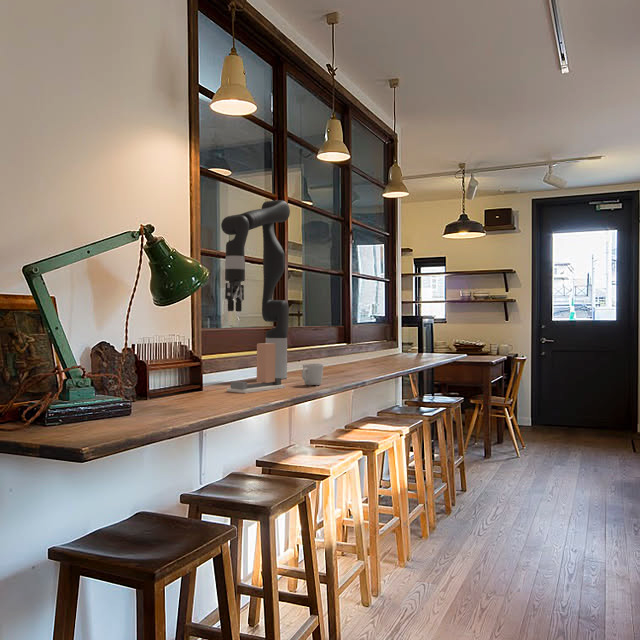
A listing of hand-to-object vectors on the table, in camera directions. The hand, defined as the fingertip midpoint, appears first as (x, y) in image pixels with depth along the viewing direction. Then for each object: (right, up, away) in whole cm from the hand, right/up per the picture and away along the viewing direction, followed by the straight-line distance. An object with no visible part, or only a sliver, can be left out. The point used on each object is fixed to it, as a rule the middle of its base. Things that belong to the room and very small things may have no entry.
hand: (234, 311), depth 228 cm
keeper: (+13, -26, -8) cm, 30 cm away
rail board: (+10, -28, -12) cm, 32 cm away
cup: (+29, -29, +2) cm, 41 cm away
